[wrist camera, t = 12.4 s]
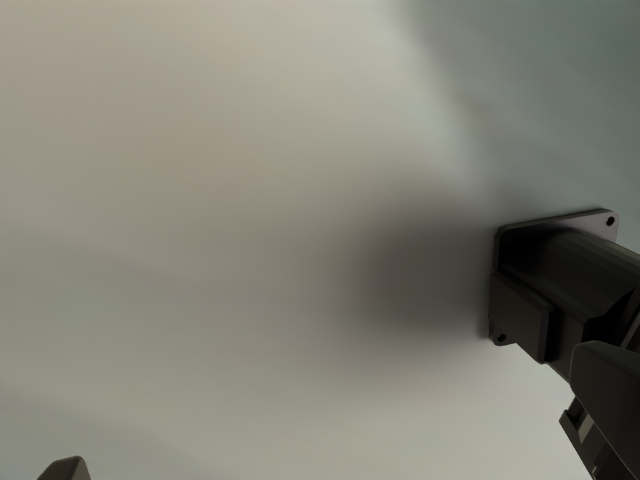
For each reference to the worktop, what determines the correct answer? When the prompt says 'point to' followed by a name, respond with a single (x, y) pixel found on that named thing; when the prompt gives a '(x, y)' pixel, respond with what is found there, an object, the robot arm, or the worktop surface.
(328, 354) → the worktop surface
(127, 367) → the worktop surface
